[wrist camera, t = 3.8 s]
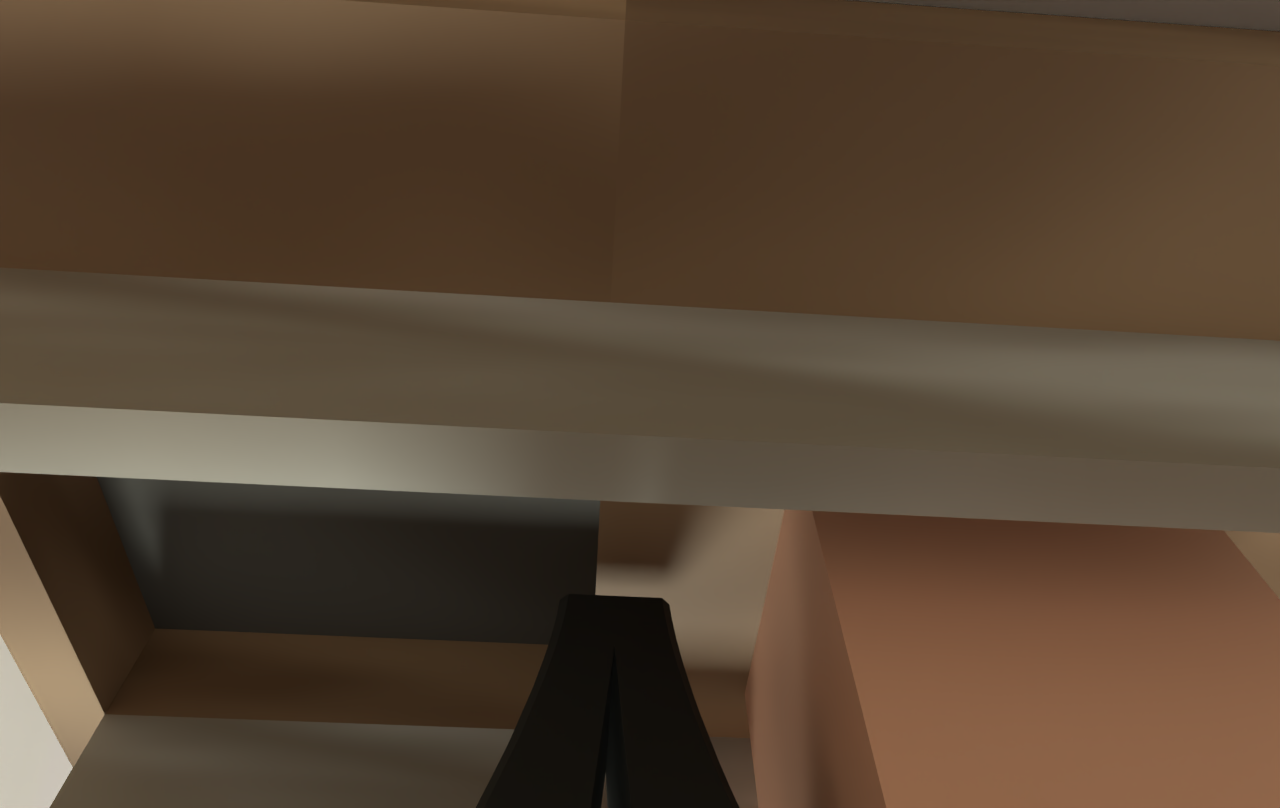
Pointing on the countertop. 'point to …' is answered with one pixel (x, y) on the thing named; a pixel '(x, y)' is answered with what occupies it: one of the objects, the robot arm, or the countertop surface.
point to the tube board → (576, 343)
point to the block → (1012, 667)
